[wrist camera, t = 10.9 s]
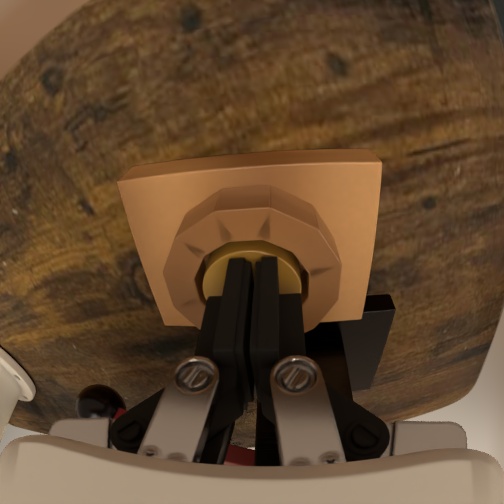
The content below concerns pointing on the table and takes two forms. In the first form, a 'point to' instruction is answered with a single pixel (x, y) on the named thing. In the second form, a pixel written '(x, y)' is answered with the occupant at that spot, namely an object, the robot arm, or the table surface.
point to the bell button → (253, 254)
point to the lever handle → (112, 405)
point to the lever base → (337, 362)
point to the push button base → (257, 223)
